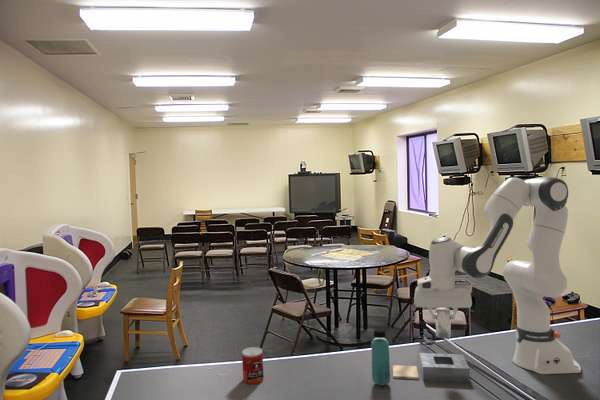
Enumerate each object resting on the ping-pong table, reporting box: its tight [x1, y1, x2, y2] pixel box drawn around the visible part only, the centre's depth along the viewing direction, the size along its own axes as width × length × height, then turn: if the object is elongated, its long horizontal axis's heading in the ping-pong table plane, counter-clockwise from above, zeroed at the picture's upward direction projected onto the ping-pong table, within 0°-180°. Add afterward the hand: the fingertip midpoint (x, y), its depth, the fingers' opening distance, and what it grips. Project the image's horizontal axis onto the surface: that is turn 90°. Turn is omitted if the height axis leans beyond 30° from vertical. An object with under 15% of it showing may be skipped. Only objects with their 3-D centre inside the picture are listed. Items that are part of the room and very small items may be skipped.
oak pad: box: [392, 364, 420, 380], centre depth 163 cm, size 9×9×1 cm
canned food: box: [241, 346, 265, 385], centre depth 161 cm, size 8×8×11 cm
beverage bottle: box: [370, 328, 391, 386], centre depth 154 cm, size 6×7×20 cm
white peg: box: [434, 307, 452, 340], centre depth 160 cm, size 5×5×10 cm
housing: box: [419, 352, 471, 383], centre depth 161 cm, size 16×12×5 cm
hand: (442, 318), depth 160 cm, fingers closed on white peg, 5 cm apart
